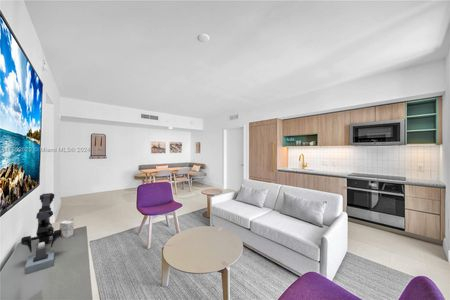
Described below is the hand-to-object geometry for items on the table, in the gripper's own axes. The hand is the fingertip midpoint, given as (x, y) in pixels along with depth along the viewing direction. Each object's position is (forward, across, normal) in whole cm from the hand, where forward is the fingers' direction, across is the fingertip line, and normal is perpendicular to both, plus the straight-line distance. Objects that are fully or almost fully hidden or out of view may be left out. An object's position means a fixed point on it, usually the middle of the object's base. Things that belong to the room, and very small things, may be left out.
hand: (41, 249), depth 113 cm
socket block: (+8, 0, +4) cm, 9 cm away
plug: (+7, 0, +3) cm, 8 cm away
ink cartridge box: (-19, +13, +32) cm, 39 cm away
